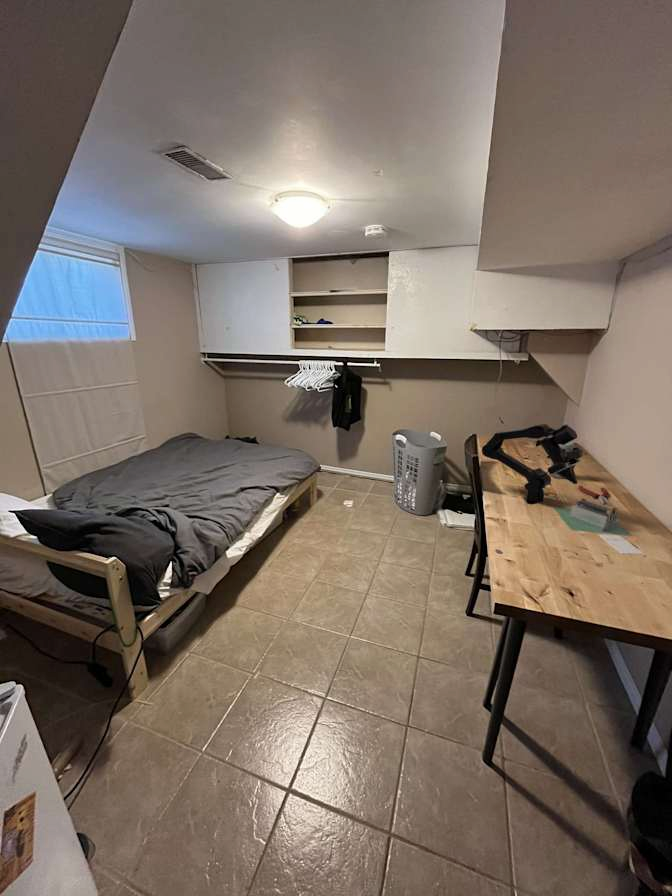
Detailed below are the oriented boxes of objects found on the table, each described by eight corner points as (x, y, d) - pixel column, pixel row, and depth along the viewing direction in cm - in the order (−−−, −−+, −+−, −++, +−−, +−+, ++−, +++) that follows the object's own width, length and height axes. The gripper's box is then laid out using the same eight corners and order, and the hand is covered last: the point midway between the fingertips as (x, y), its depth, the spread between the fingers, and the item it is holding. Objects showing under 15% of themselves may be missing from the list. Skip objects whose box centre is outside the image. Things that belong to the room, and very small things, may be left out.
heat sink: (568, 518, 146) (571, 501, 144) (583, 511, 152) (586, 494, 150) (602, 531, 136) (606, 512, 134) (616, 523, 142) (621, 505, 140)
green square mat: (570, 532, 137) (571, 529, 137) (552, 509, 156) (553, 507, 155) (631, 538, 133) (632, 536, 132) (605, 514, 152) (606, 512, 151)
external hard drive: (619, 557, 122) (596, 538, 134) (645, 558, 121) (619, 539, 133) (620, 553, 121) (597, 534, 133) (646, 554, 121) (620, 535, 133)
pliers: (592, 505, 161) (593, 500, 160) (576, 489, 180) (577, 484, 179) (622, 509, 158) (623, 503, 157) (603, 491, 177) (604, 486, 176)
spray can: (567, 475, 196) (574, 439, 191) (567, 480, 190) (574, 443, 184) (549, 472, 201) (556, 437, 195) (549, 477, 194) (555, 440, 189)
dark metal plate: (578, 503, 146) (578, 501, 146) (582, 501, 147) (582, 499, 147) (609, 513, 137) (610, 512, 137) (613, 512, 138) (613, 510, 138)
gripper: (563, 443, 141) (588, 479, 136) (580, 438, 153) (603, 471, 148) (537, 457, 149) (560, 491, 144) (555, 451, 161) (576, 482, 156)
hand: (576, 483), depth 148 cm, fingers closed
